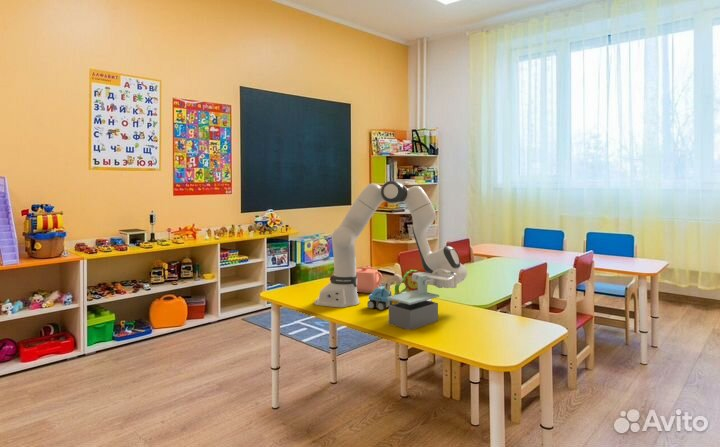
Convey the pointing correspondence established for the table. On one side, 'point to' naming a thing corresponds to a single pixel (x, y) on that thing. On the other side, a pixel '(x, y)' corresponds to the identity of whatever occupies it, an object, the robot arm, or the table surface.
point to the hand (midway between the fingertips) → (421, 282)
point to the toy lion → (407, 283)
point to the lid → (415, 294)
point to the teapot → (367, 279)
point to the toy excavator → (383, 294)
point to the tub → (413, 314)
